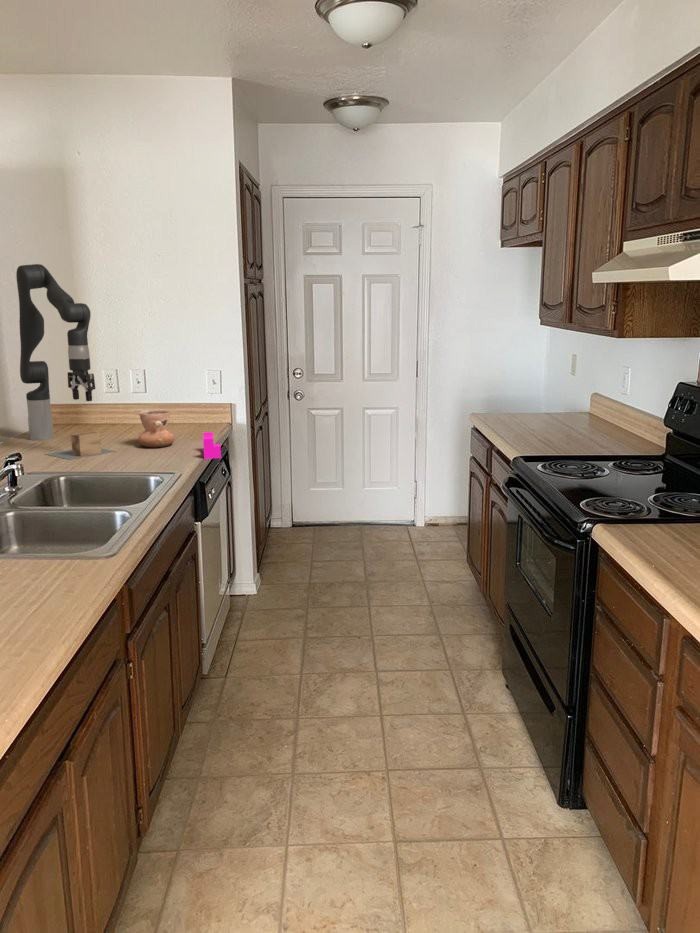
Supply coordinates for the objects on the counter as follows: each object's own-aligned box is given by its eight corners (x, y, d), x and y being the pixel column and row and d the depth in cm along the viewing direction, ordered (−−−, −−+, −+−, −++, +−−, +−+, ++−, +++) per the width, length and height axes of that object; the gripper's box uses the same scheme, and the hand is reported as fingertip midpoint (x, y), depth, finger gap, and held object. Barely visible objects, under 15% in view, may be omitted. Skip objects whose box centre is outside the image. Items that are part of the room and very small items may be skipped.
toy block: (220, 458, 280) (220, 438, 278) (204, 458, 278) (203, 439, 277) (220, 450, 294) (219, 432, 292) (204, 451, 293) (203, 432, 291)
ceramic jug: (178, 448, 298) (176, 413, 295) (141, 451, 293) (139, 415, 290) (170, 441, 314) (168, 407, 311) (135, 443, 309) (133, 409, 306)
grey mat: (44, 454, 287) (44, 454, 287) (90, 446, 302) (90, 446, 302) (69, 459, 277) (69, 459, 277) (115, 451, 292) (115, 451, 292)
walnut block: (72, 454, 285) (70, 434, 283) (93, 451, 292) (91, 431, 290) (80, 456, 282) (79, 435, 280) (101, 452, 289) (99, 432, 287)
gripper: (59, 357, 281) (63, 400, 284) (81, 358, 272) (84, 402, 275) (77, 356, 286) (80, 398, 290) (98, 357, 278) (102, 400, 281)
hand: (82, 400), depth 283 cm, fingers open, 8 cm apart
